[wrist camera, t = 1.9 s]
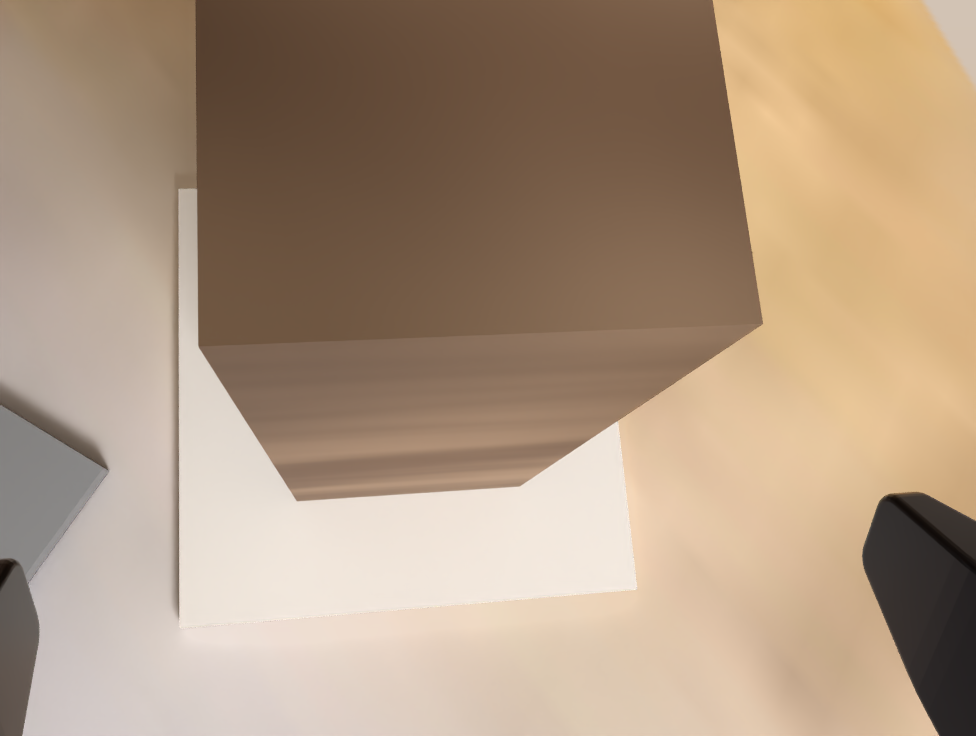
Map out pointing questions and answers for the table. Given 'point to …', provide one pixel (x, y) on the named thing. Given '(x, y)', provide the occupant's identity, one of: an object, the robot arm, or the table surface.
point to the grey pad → (39, 490)
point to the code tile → (372, 519)
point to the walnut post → (460, 228)
